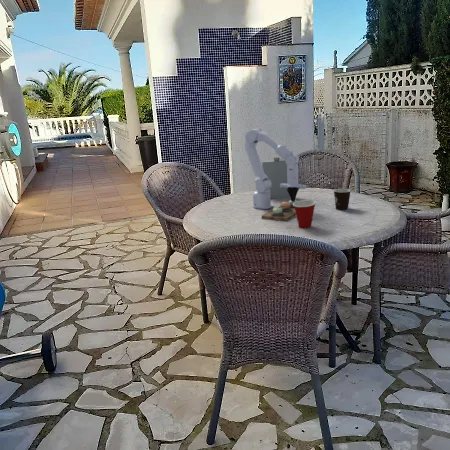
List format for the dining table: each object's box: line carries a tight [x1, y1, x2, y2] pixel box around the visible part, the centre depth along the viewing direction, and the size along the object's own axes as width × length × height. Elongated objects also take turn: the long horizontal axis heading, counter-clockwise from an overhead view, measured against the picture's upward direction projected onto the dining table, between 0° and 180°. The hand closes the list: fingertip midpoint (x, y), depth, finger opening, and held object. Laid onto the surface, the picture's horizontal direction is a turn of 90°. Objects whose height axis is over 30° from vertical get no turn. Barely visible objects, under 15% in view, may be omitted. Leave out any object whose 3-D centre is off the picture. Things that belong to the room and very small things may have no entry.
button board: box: [261, 205, 297, 222], centre depth 226 cm, size 14×27×2 cm, turn 145°
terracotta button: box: [280, 201, 290, 208], centre depth 225 cm, size 5×5×2 cm
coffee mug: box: [333, 188, 352, 211], centre depth 228 cm, size 12×9×10 cm
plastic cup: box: [293, 199, 317, 229], centre depth 200 cm, size 11×11×12 cm
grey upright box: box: [261, 156, 291, 199], centre depth 260 cm, size 17×5×25 cm, turn 81°
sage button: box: [272, 207, 282, 214], centre depth 218 cm, size 5×5×2 cm
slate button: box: [288, 199, 298, 206], centre depth 232 cm, size 5×5×2 cm
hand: (293, 201), depth 232 cm, fingers closed, pressing on slate button
